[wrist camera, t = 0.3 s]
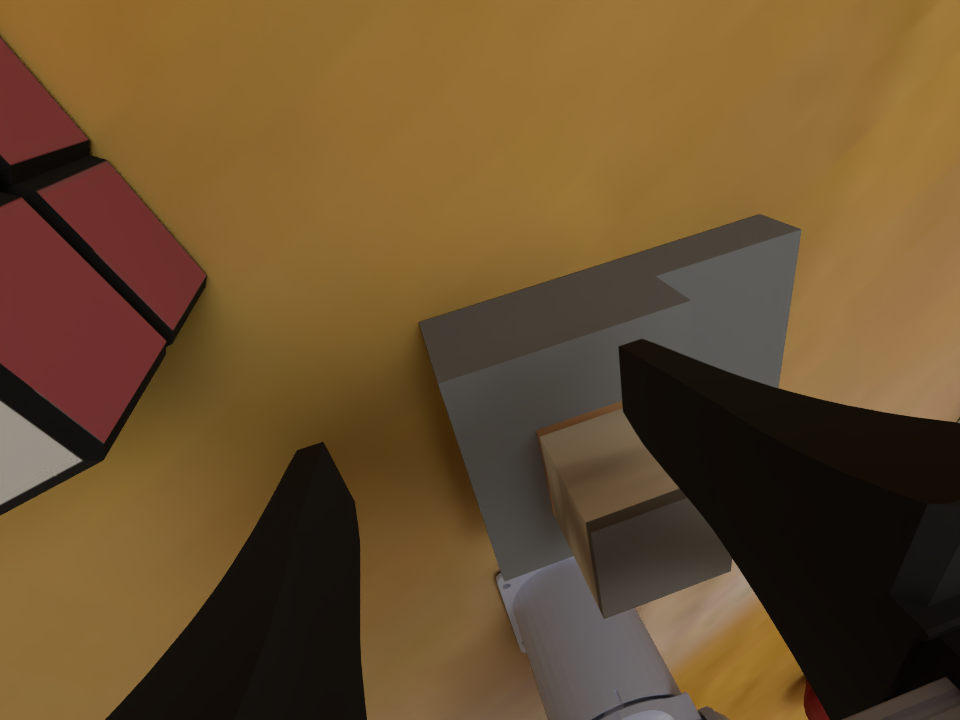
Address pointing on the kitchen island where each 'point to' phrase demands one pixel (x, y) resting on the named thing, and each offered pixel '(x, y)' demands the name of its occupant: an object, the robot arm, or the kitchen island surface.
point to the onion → (813, 705)
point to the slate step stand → (598, 358)
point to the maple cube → (624, 513)
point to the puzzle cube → (73, 293)
